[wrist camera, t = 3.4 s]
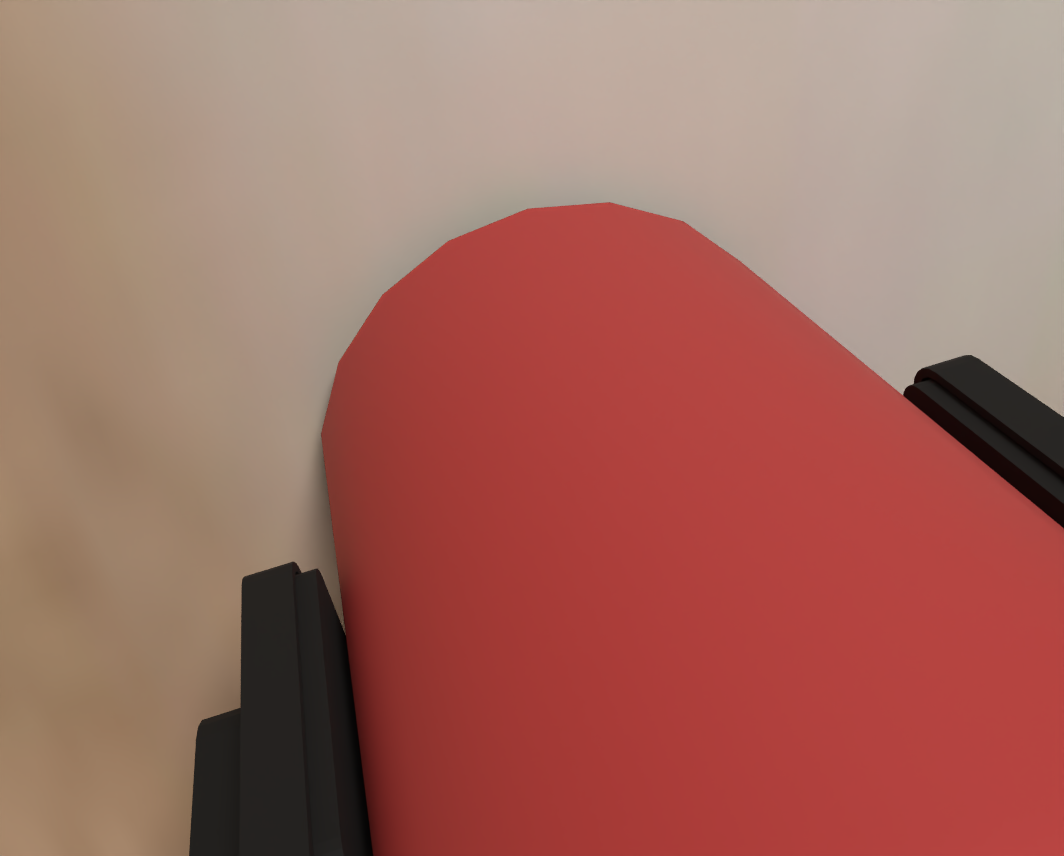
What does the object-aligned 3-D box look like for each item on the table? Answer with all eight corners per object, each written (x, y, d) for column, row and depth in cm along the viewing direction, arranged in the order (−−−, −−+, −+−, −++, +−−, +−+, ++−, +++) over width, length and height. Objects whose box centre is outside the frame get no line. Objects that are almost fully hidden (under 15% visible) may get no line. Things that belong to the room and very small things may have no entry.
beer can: (776, 535, 17) (1610, 1609, 6) (381, 649, 16) (620, 2086, 6) (759, 135, 13) (2477, 1077, 3) (256, 255, 12) (282, 2096, 2)
